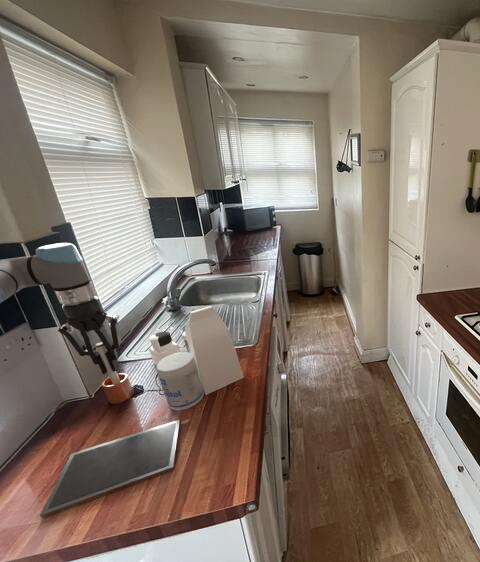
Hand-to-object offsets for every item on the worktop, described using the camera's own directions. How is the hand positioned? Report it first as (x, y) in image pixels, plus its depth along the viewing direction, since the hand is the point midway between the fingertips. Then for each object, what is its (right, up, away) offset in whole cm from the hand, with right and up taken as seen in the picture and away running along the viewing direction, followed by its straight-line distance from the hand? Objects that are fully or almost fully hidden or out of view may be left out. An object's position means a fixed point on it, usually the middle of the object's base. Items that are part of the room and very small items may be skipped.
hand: (110, 369), depth 93 cm
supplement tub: (+22, -10, +2) cm, 24 cm away
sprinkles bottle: (+16, -3, +19) cm, 25 cm away
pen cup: (0, -10, +4) cm, 11 cm away
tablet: (+18, -18, -17) cm, 31 cm away
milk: (+27, -6, +12) cm, 30 cm away
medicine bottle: (+4, -3, +20) cm, 21 cm away
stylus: (0, -7, +3) cm, 8 cm away
